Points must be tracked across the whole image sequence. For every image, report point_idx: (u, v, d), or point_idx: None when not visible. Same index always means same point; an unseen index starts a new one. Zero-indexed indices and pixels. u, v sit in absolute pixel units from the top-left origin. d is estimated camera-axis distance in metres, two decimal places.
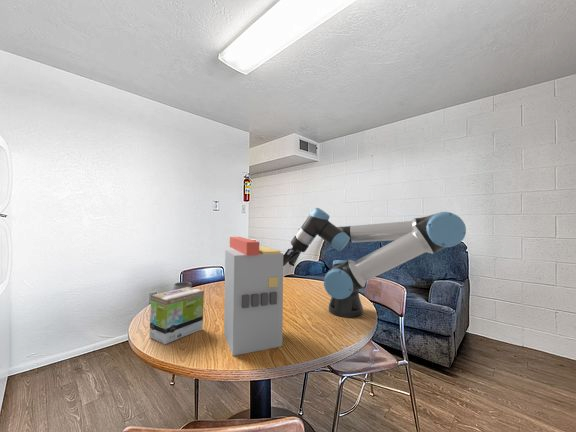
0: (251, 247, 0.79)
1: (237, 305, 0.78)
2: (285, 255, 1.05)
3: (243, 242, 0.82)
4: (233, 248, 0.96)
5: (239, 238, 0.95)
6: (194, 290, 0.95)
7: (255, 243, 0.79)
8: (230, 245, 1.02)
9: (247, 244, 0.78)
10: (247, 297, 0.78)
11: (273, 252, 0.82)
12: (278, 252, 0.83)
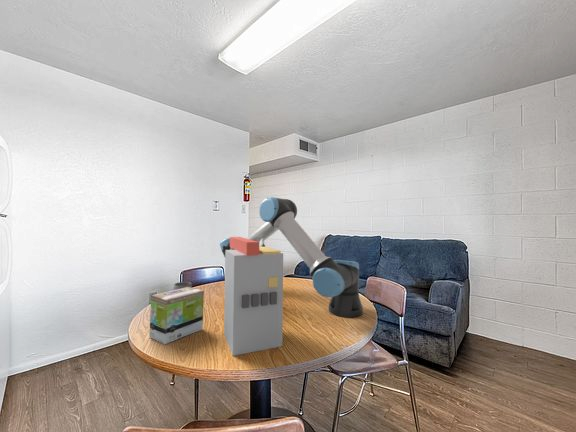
0: (251, 247, 0.79)
1: (237, 305, 0.78)
2: None
3: (243, 242, 0.82)
4: (233, 248, 0.96)
5: (239, 238, 0.95)
6: (194, 290, 0.95)
7: (255, 243, 0.79)
8: (230, 245, 1.02)
9: (247, 244, 0.78)
10: (247, 297, 0.78)
11: (273, 252, 0.82)
12: (278, 252, 0.83)
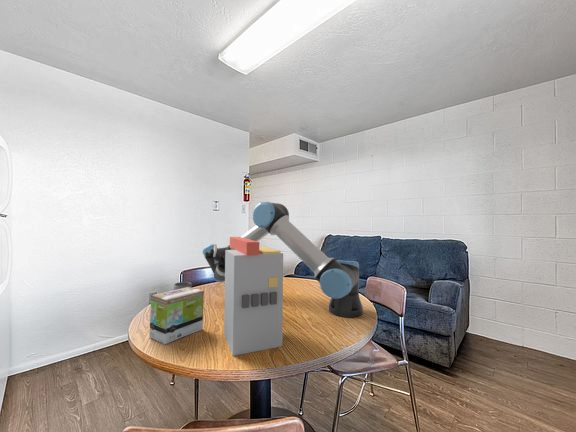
0: (251, 247, 0.79)
1: (237, 305, 0.78)
2: None
3: (243, 242, 0.82)
4: (233, 248, 0.96)
5: (239, 238, 0.95)
6: (194, 290, 0.95)
7: (255, 243, 0.79)
8: (230, 245, 1.02)
9: (247, 244, 0.78)
10: (247, 297, 0.78)
11: (273, 252, 0.82)
12: (278, 252, 0.83)
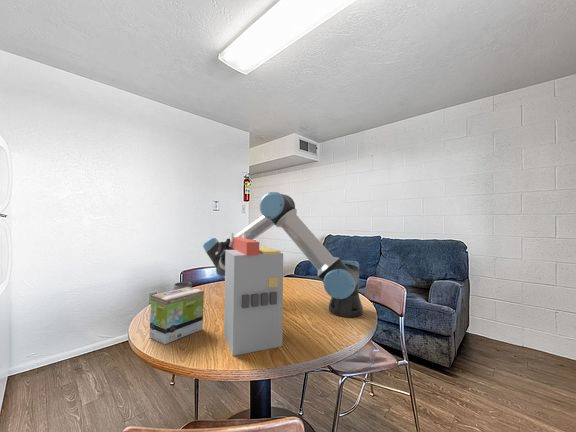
0: (251, 247, 0.79)
1: (237, 305, 0.78)
2: (218, 252, 1.06)
3: (243, 242, 0.82)
4: (233, 248, 0.96)
5: (239, 238, 0.95)
6: (194, 290, 0.95)
7: (255, 243, 0.79)
8: None
9: (247, 244, 0.78)
10: (247, 297, 0.78)
11: (273, 252, 0.82)
12: (278, 252, 0.83)
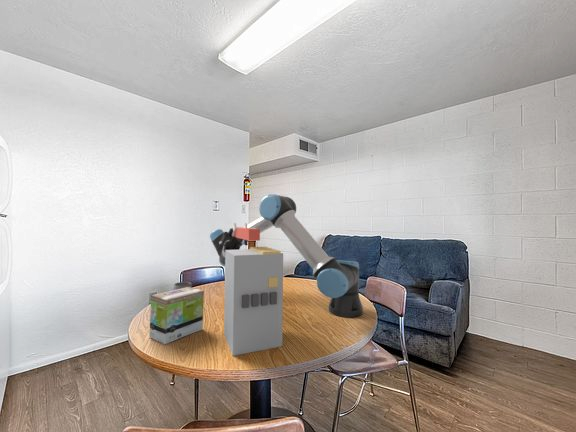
0: (253, 233, 0.89)
1: (237, 305, 0.78)
2: (221, 241, 1.16)
3: (245, 229, 0.92)
4: None
5: None
6: (194, 290, 0.95)
7: (256, 230, 0.90)
8: None
9: (249, 231, 0.89)
10: (247, 297, 0.78)
11: (273, 252, 0.82)
12: (278, 252, 0.83)
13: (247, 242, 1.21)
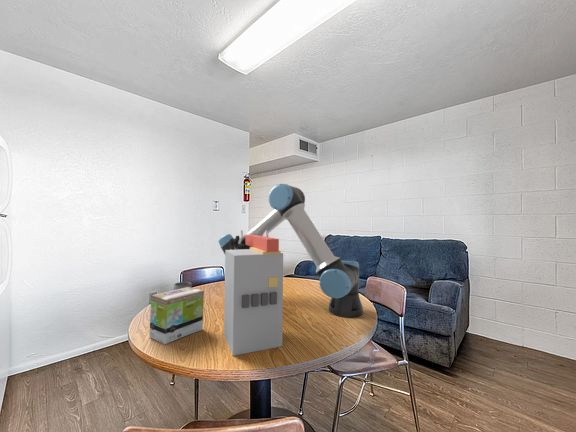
0: (271, 244, 0.81)
1: (237, 305, 0.78)
2: None
3: (262, 239, 0.85)
4: (250, 245, 0.99)
5: None
6: (194, 290, 0.95)
7: (275, 240, 0.82)
8: (246, 243, 1.05)
9: (267, 241, 0.81)
10: (247, 297, 0.78)
11: (273, 252, 0.82)
12: (278, 252, 0.83)
13: None
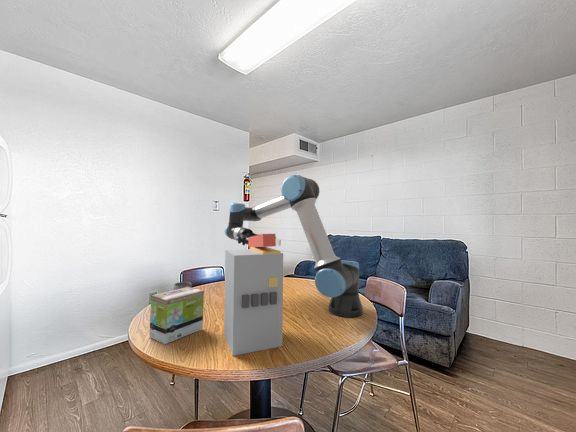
0: (267, 238, 0.80)
1: (237, 305, 0.78)
2: (237, 239, 1.18)
3: (260, 235, 0.84)
4: (251, 246, 0.99)
5: None
6: (194, 290, 0.95)
7: (271, 235, 0.81)
8: (249, 245, 1.04)
9: (263, 236, 0.80)
10: (247, 297, 0.78)
11: (273, 252, 0.82)
12: (278, 252, 0.83)
13: None
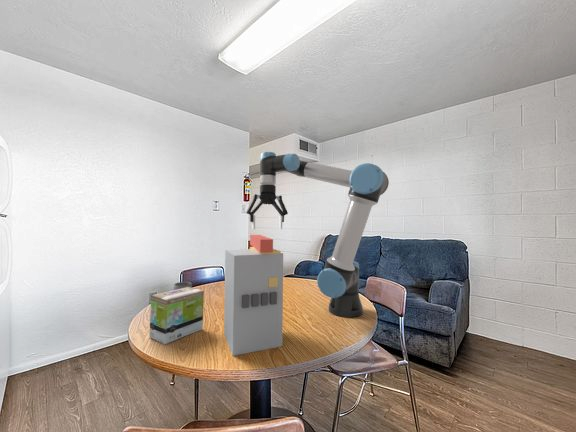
0: (265, 244, 0.80)
1: (237, 305, 0.78)
2: (252, 200, 1.21)
3: (258, 239, 0.83)
4: (252, 245, 0.99)
5: None
6: (194, 290, 0.95)
7: (269, 240, 0.80)
8: (250, 243, 1.05)
9: (261, 241, 0.79)
10: (247, 297, 0.78)
11: (273, 252, 0.82)
12: (278, 252, 0.83)
13: None
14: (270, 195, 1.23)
